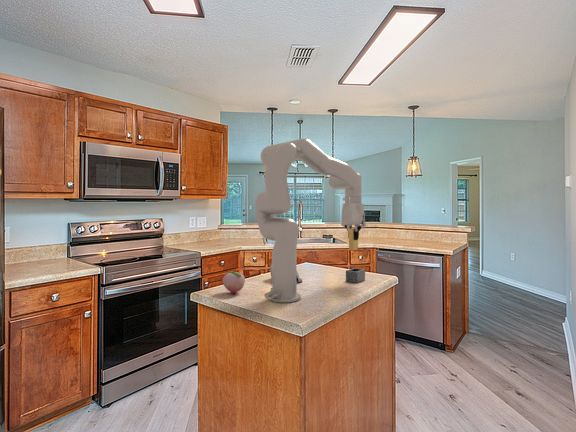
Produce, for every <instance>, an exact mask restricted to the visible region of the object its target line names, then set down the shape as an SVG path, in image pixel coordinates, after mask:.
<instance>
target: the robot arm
mask: <svg viewBox="0 0 576 432" xmlns="http://www.w3.org/2000/svg"><path fill="white" fill-rule="evenodd" d="M260 160H261V162H262V164H263V165H264V166H266V168H265V172H264V185H265V187H264V188H265V190H262V191H260V192H259V193H258V194H257V196H256V198H255V203H254V208H255V214H256V219H257V225H258V229H259V233H260V234H261V236H262V237H263V238H264V239H265V240H267V241H273V242H274V241H275V242H274V244H273V247H272V251H271V265H272V278H271V280H272V281H271V282H272V283H271V285H272V287H270V291H267V292H264V293H263V294H264V298H265V299H269V300H270V301H271V302H275V303H294V302H297V301H299V300H301V294H300V293H299V292H297V290H298V289H297V286H298V285H297V284H298V282H297V272H298V270H297V248H298V247H297V245H298V241H299V240H298V238H299V234H300V228H299V225H298V222H297V221H295V220H294V219H293V218H290V217H285V216H284V217H283V216H280V215H286V214H287V213H289V212H290V210H291V207H292V206H291V205H292V203H291V196H290V191H289V184H288V172H289V169H290V167H291V165H292V164H293V163H294V162H295V161H300V162H302V163H304V164H305V165H306V166H307V167H308V168H310V169H311V170H312V171H314V173H317V174H320V175H324V176H328V177H329V176H330V177H329V178H328V184H329V186H330V187H331V189H334V190H344V197H343V198H342V201H344V203H343V204H342V209H341V219H340V220H341V223H340V225H341V227H343V228H345V229H346V231H347V238H348V239H349V232H348V229H349V228H353V226H354V227H355V232H354V240H358V241H359V238H360V231H361V229H363V228H366V226H367V224H366V219H365V216H366V215H365V207H364V203H363V202H362V175H361V174H360V173H358V172H357V171H356V170H355V169H354V168H353V167H352V166H351V165H350V164H347V163H346V162H343V161H341V160H339V159H337V158H334V157H332V156H330V155H327V154H326V153H325V152H324V151H323V150H322V149H320V148H319V147H318V146H317V145H316V144H315V143H314V142H313V141H311V140H310V139H308V138H303V137H302V138H299V139H294V140H289V141H285V142H281V143H280V142H279V143H276V144H271V145H267V146H265V147H264V148H262V150H261V152H260ZM278 215H279V216H278Z"/></svg>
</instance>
